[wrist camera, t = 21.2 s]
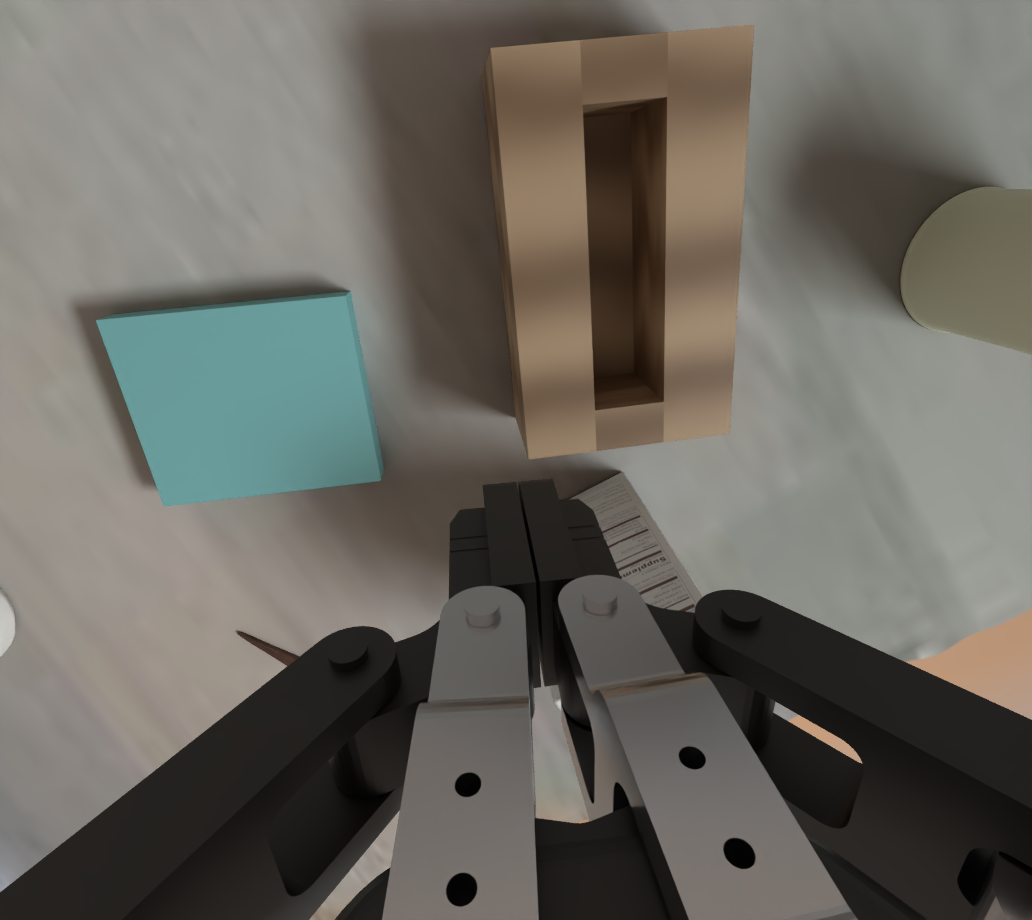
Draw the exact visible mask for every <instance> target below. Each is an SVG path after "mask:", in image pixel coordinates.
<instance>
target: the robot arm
mask: <svg viewBox="0 0 1032 920" xmlns="http://www.w3.org/2000/svg"><path fill="white" fill-rule="evenodd" d="M518 491H519V494H518ZM483 493H484V504H485V508H475V509H464V510H460V511H459V512H458V513H457V515H456V516H455V518H454V519H453V520H452V522H451V523H450V560H449V600H448V601H447V603H446V604H445V605H444V607H443V609H442V611H441V615H440V620H439V621H438V622H437V623H436V624H435V625H433V626H432V627H431V628H429V629H428V630H426V631H424V632H422V633H420V634H418V635H415V636H413V637H410V638H407V639H404V640H401V641H398V642H394V640H393V639H392V637H391V636H390V635H389V634H388V633H386V632H385V631H383V630H381V629H378V628H374V627H367V626H359V627H351V628H346V629H343V630H339V631H337V632H335V633H332V634H330V635H328V636H327V637H325V638H323V639H322V640H321V641H319V642H318V643H317V644H315V645H314V646H313V647H311V648H310V649H309V650H308V651H306V652H305V653H304V654H303V655H301V656H300V657H299V658H297V659H296V660H295V661H294V662H292V663H291V664H290V665H289V666H287V667H286V668H285V669H284V670H282V671H281V672H280V673H278V674H277V675H276V676H275V677H273V678H272V679H271V680H270V681H268V682H267V683H266V684H264V685H263V686H262V687H261V688H259V689H258V690H257V691H256V692H254V693H253V694H252V695H250V696H249V697H248V698H247V699H245V700H244V701H243V702H242V703H240V704H239V705H238V706H236V707H235V708H234V709H233V710H231V711H230V712H229V713H228V714H226V715H225V716H224V717H223V718H221V719H220V720H219V721H217V722H216V723H215V724H214V725H212V726H211V727H210V728H209V729H207V730H206V731H205V732H203V733H202V734H201V735H200V736H198V737H197V738H196V739H195V740H193V741H192V742H191V743H189V744H188V745H187V746H186V747H184V748H183V749H182V750H181V751H179V752H178V753H177V754H175V755H174V756H173V757H172V758H170V759H169V760H168V761H167V762H165V763H164V764H163V765H162V766H160V767H159V768H158V769H156V770H155V771H154V772H153V773H151V774H150V775H149V776H148V777H146V778H145V779H144V780H142V781H141V782H140V783H139V784H137V785H136V786H135V787H134V788H132V789H131V790H130V791H128V792H127V793H126V794H125V795H123V796H122V797H121V798H120V799H118V800H117V801H116V802H114V803H113V804H112V805H111V806H109V807H108V808H107V809H106V810H104V811H103V812H102V813H101V814H99V815H98V816H97V817H95V818H94V819H93V820H92V821H90V822H89V823H88V824H87V825H85V826H84V827H83V828H81V829H80V830H79V831H78V832H76V833H75V834H74V835H73V836H71V837H70V838H69V839H67V840H66V841H65V842H64V843H62V844H61V845H60V846H59V847H57V848H56V849H55V850H54V851H52V852H51V853H50V854H48V855H47V856H46V857H45V858H43V859H42V860H41V861H40V862H38V863H37V864H36V865H34V866H33V867H32V868H31V869H29V870H28V871H27V872H26V873H24V874H23V875H22V876H20V877H19V878H18V879H17V880H15V881H14V882H13V883H12V884H10V885H9V886H8V887H6V888H5V889H4V890H3V891H1V892H0V920H309V919H310V918H311V917H312V915H313V914H314V913H315V912H316V910H317V909H318V908H319V907H320V906H321V904H322V903H323V902H324V901H325V900H326V898H327V897H328V896H329V895H330V894H331V892H332V891H333V890H334V889H335V888H336V886H337V885H338V884H339V883H340V882H341V880H342V879H343V878H344V877H345V875H346V874H347V873H348V872H349V871H350V869H351V868H352V867H353V866H354V865H355V863H356V862H357V861H358V860H359V859H360V857H361V856H362V855H363V854H364V853H365V851H366V850H367V849H368V848H369V846H370V845H371V844H372V843H373V842H374V840H375V839H376V838H377V837H378V836H379V834H380V833H381V832H382V831H383V830H384V828H385V827H386V826H387V825H388V824H389V822H390V821H391V820H392V819H393V817H394V816H395V815H396V814H397V813H398V811H399V810H400V813H399V819H398V825H397V831H396V838H395V844H394V850H393V856H392V862H391V867H390V868H389V869H387V870H386V871H384V872H383V873H382V874H380V875H379V876H377V877H376V878H375V879H374V880H373V881H371V882H370V883H369V884H368V885H367V886H366V887H365V888H363V889H362V890H361V891H360V892H359V893H358V894H357V895H356V896H355V897H354V898H353V899H352V901H351V902H350V903H349V904H348V905H347V906H346V907H345V908H344V909H343V910H342V911H341V913H340V914H339V915H338V916H337V918H336V919H335V920H1032V720H1031V719H1028V718H1026V717H1024V716H1022V715H1020V714H1017V713H1015V712H1013V711H1011V710H1009V709H1007V708H1004V707H1002V706H1000V705H998V704H996V703H993V702H991V701H989V700H987V699H985V698H983V697H980V696H978V695H976V694H974V693H971V692H969V691H967V690H965V689H963V688H961V687H958V686H956V685H954V684H952V683H950V682H947V681H945V680H943V679H941V678H939V677H936V676H934V675H932V674H930V673H928V672H926V671H923V670H921V669H919V668H917V667H915V666H912V665H910V664H908V663H906V662H904V661H901V660H899V659H897V658H895V657H893V656H890V655H888V654H886V653H884V652H882V651H879V650H877V649H875V648H873V647H871V646H869V645H866V644H864V643H862V642H860V641H858V640H855V639H853V638H851V637H849V636H847V635H844V634H842V633H840V632H838V631H836V630H833V629H831V628H829V627H827V626H825V625H823V624H820V623H818V622H816V621H814V620H812V619H809V618H807V617H805V616H803V615H801V614H798V613H796V612H794V611H792V610H790V609H787V608H785V607H783V606H781V605H779V604H776V603H774V602H772V601H770V600H768V599H766V598H763V597H761V596H758V595H756V594H753V593H749V592H745V591H740V590H720V591H715V592H712V593H709V594H707V595H705V596H704V597H702V598H701V599H700V600H699V601H698V603H697V605H696V607H695V613H694V612H686V611H678V610H670V609H664V608H660V607H656V606H653V605H650V604H647V603H645V602H644V600H643V599H642V597H641V595H640V593H639V592H638V591H637V589H636V588H635V587H633V586H632V585H631V584H629V583H628V582H626V581H624V580H622V579H621V576H620V574H619V572H618V569H617V567H616V564H615V562H614V559H613V557H612V554H611V552H610V550H609V547H608V545H607V542H606V540H605V539H604V535H603V533H602V530H601V528H600V527H599V523H598V520H597V518H596V516H595V513H594V511H593V510H592V509H591V508H590V507H589V506H587V505H586V504H585V503H583V502H582V501H581V500H580V499H571V500H560V501H559V498H558V495H557V492H556V489H555V486H554V483H553V480H552V479H543V480H532V481H521V482H519V483H518V489H517V484H516V482H511V483H500V484H488V485H483ZM540 663H541V669H542V674H543V680H544V686H553V685H558V688H559V692H560V697H561V721H562V726H563V730H564V733H565V737H566V740H567V744H568V747H569V751H570V754H571V758H572V761H573V764H574V768H575V771H576V775H577V778H578V782H579V785H580V789H581V792H582V796H583V799H584V803H585V806H586V810H587V813H588V817H589V821H590V822H586V823H581V824H579V823H569V822H561V821H553V820H546V819H538V818H536V799H535V779H534V758H533V738H532V718H533V715H534V710H535V707H534V688H537V687H541V678H540ZM775 701H776V702H777V703H779V704H781V705H783V706H784V707H786V708H788V709H790V710H791V711H793V712H795V713H797V714H798V715H800V716H802V717H804V718H805V719H807V720H809V721H811V722H812V723H814V724H816V725H818V726H820V727H821V728H823V729H825V730H827V731H828V732H830V733H832V734H834V735H835V736H837V737H839V738H841V739H842V740H844V741H845V742H846V743H848V744H849V745H850V746H851V747H852V748H853V749H854V750H855V751H856V752H857V754H858V755H859V757H860V758H861V761H862V763H863V764H861V763H859V762H857V761H855V760H853V759H852V758H850V757H848V756H846V755H845V754H843V753H841V752H840V751H838V750H836V749H834V748H833V747H831V746H829V745H828V744H826V743H824V742H822V741H821V740H819V739H817V738H816V737H814V736H812V735H810V734H809V733H807V732H805V731H804V730H802V729H800V728H798V727H797V726H795V725H793V724H792V723H790V722H788V721H786V720H785V719H783V718H781V717H780V716H778V715H776V714H774V713H773V711H774V706H775Z"/></svg>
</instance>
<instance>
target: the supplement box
mask: <svg viewBox="0 0 1032 920" xmlns="http://www.w3.org/2000/svg"><path fill="white" fill-rule="evenodd" d="M571 499H580V500H581V501H582V502H583V503H585V504H586V505H587V506H589V507H590V508H591V509H592V510H593V511H594V513H595V516H596V518H597V520H598V523H599V527H600V528H601V530H602V533H603V535H604V539H605V540H606V542H607V545H608V547H609V550H610V552H611V554H612V557H613V559H614V562H615V564H616V567H617V569H618V572H619V574H620V576H621V579H622V580H624V581H626V582H628V583H629V584H631V585H632V586H633V587H635V588H636V589H637V591H638V592H639V593H640V595H641V597H642V599H643V600H644V602H645V603H647V604H650V605H653V606H656V607H660V608H664V609H670V610H678V611H686V612H694V613H695V607H696V605H697V603H698V601H699V600H700V599H701V598H702V597H704V596H703V595H702V593H701V592H700V590H699V588H698V587H697V585H696V584H695V582H694V580H693V579H692V577H691V576H690V574H689V573H688V571H687V570H686V568H685V567H684V565H683V564H682V562H681V561H680V559H679V558H678V556H677V555H676V553H675V552H674V550H673V549H672V548H671V546H670V545H669V543H668V541H667V540H666V538H665V536H664V535H663V533H662V532H661V530H660V528H659V527H658V525H657V524H656V522H655V520H654V519H653V517H652V516H651V514H650V512H649V511H648V509H647V508H646V506H645V505H644V503H643V502H642V500H641V499H640V497H639V495H638V494H637V492H636V491H635V489H634V488H633V486H632V484H631V483H630V481H629V480H628V478H627V476H626V475H625V474H624V473H623V472H622V473H619V474H617V475H615V476H613V477H611V478H610V479H608V480H606V481H604V482H602V483H600V484H598V485H596V486H594V487H592V488H590V489H588V490H586V491H584V492H582V493H580V494H578V495H576V496H574V497H572V498H571ZM571 499H569V500H571ZM550 689H551V694H552V698H553V702H554V703H555V704H556V706H557V707H558V709H559V710H560V711H561V697H560V692H559V688H558V685H553V686H550Z"/></svg>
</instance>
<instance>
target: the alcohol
mask: <svg viewBox="0 0 1032 920" xmlns="http://www.w3.org/2000/svg"><path fill="white" fill-rule="evenodd" d="M14 634H15V613H14V609H13V606H12V604H11V602H10V600H9V598H8V597H7V595H6V594H5V593H4V592H3V591H2V589H1V588H0V657H1V656H2V654H3V653H4V652H5V651H6V650H7V649H8V648H9V646H10V645H11V643H12V641H13V638H14Z"/></svg>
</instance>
